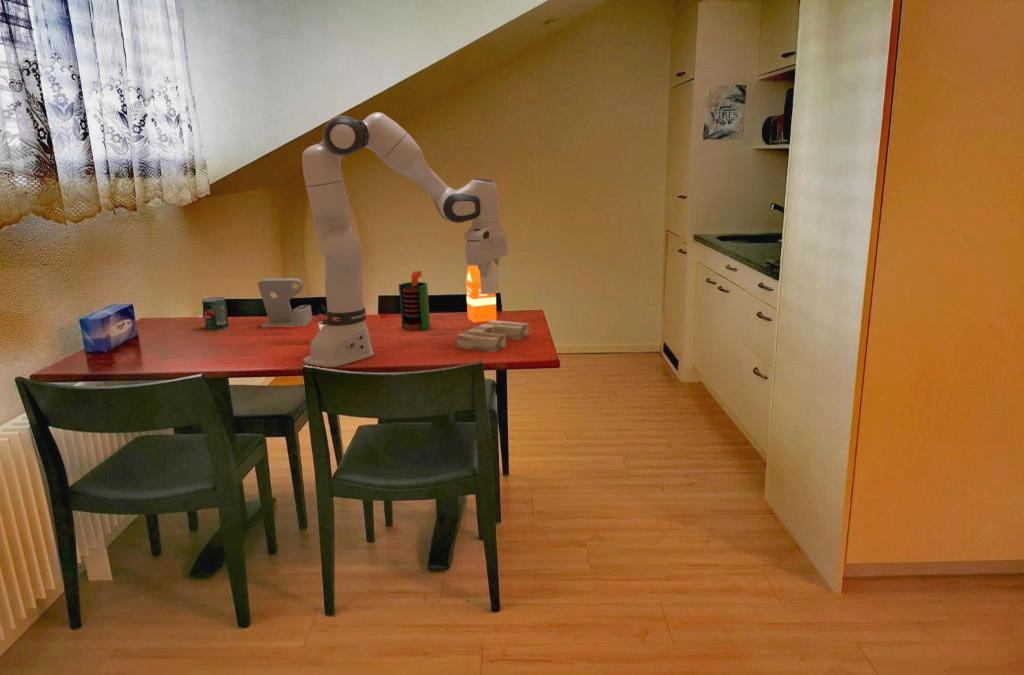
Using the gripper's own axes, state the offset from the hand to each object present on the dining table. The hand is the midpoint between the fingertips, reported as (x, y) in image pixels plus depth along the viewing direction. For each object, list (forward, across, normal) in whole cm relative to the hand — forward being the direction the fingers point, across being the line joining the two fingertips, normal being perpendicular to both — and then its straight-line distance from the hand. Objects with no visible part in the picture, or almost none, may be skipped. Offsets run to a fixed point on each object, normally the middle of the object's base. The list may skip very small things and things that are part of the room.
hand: (489, 274), depth 233 cm
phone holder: (+21, +9, -83) cm, 86 cm away
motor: (+22, -5, -34) cm, 41 cm away
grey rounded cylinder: (+6, 0, 0) cm, 6 cm away
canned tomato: (+21, +23, -104) cm, 108 cm away
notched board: (+22, 0, 0) cm, 22 cm away
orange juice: (+22, -25, -19) cm, 39 cm away
